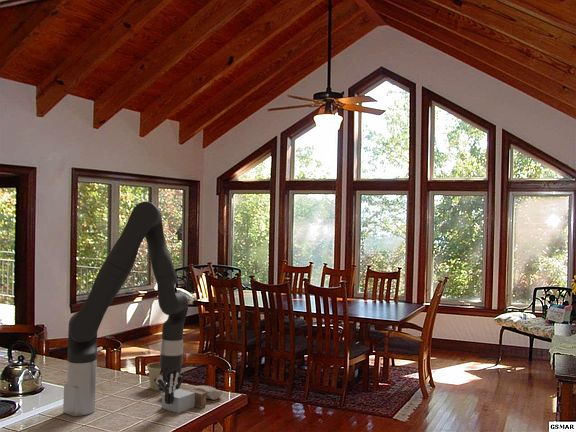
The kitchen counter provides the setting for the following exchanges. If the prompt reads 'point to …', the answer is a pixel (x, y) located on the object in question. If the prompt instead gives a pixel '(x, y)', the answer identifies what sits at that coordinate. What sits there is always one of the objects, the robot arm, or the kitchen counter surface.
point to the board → (197, 397)
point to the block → (180, 401)
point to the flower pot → (154, 374)
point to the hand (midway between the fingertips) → (168, 403)
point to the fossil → (209, 392)
